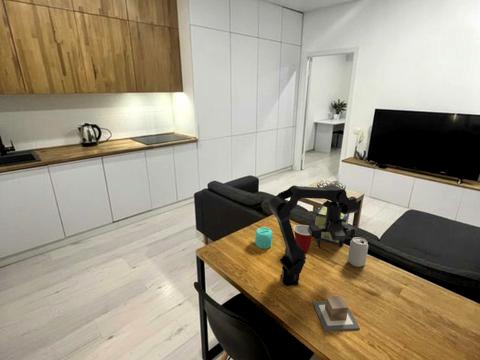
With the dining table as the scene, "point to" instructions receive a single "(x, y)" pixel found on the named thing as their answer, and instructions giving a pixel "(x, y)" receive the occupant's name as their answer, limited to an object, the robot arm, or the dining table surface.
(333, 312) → the cube
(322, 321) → the coaster
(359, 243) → the can
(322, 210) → the protein box
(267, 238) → the turquoise cylinder
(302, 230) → the plastic cup
